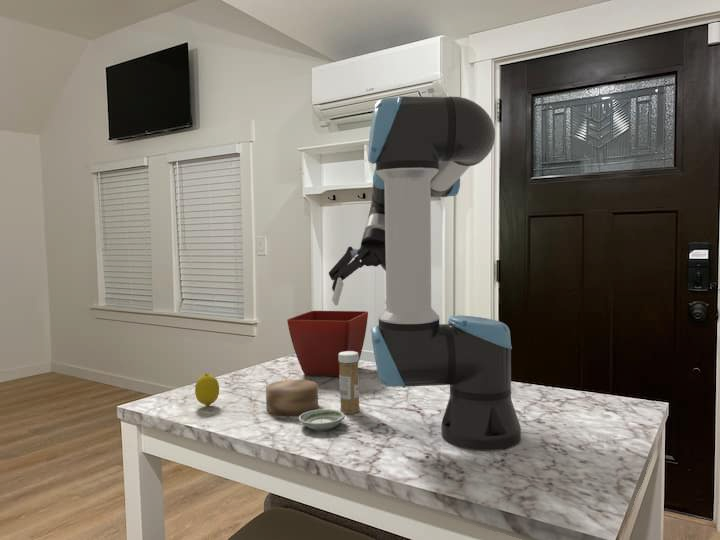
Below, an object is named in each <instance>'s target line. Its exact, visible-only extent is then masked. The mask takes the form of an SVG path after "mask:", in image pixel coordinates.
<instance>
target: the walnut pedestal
mask: <svg viewBox="0 0 720 540" xmlns="http://www.w3.org/2000/svg"><path fill="white" fill-rule="evenodd" d="M318 386H319V385H318V383H317V382H315V381H311V380H307V379H287V380H280V381H275V382H272V383H270V384H268V385H266V387H265V401H266V406H265V407H266V412H267V413H269V414H271V415H274V416H279V415H281V416H280V417H293V416H294V417H295V416H300V415H301V414H303V413H305V412H308V411H312V410H318V408H319V387H318Z"/></svg>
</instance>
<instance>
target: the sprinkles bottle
mask: <svg viewBox="0 0 720 540" xmlns="http://www.w3.org/2000/svg"><path fill="white" fill-rule="evenodd" d="M358 361H359V362H360V359H359V354H358V352H355V351H344V352H340V353H339V364H340V375H339V376H338V377H339V397H340V410H339V411H341V412H342V413H344V414H349V415H350V414H355V413H358V412H359V411H360V410H361V409H360V408H361V407H360V388H359V386H360V384H359V381H360V380H359V362H358Z"/></svg>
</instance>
